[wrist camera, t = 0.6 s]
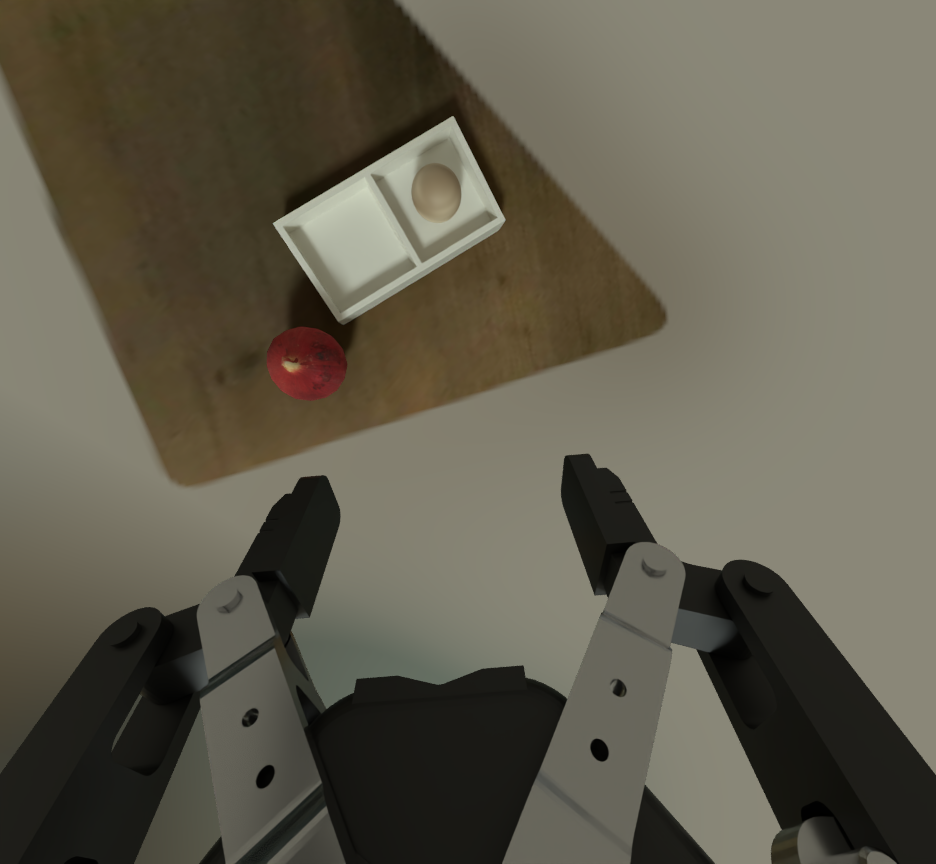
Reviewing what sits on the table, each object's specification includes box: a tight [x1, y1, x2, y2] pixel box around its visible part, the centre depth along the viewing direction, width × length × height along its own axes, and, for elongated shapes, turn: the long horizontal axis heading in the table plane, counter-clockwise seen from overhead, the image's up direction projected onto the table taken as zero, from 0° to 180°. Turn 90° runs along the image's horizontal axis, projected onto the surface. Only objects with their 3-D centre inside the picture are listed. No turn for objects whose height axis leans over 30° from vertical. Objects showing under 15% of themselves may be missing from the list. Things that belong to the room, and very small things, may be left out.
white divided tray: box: [273, 116, 505, 325], centre depth 30 cm, size 8×16×2 cm, turn 121°
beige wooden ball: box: [411, 163, 461, 223], centre depth 29 cm, size 4×4×4 cm
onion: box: [267, 327, 347, 401], centre depth 28 cm, size 6×6×8 cm
